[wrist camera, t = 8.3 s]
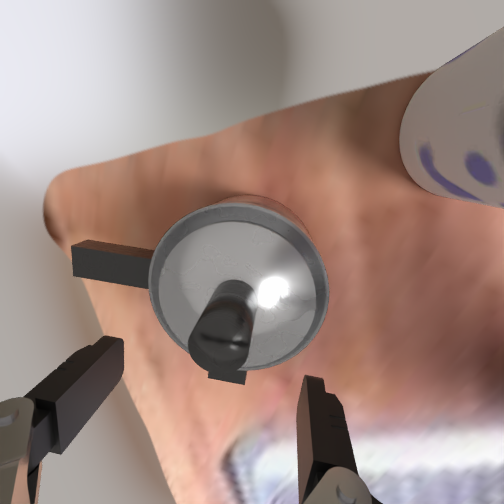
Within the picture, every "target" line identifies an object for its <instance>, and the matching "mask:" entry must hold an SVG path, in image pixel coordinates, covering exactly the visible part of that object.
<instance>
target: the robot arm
mask: <svg viewBox="0 0 504 504" xmlns="http://www.w3.org/2000/svg"><path fill="white" fill-rule="evenodd" d="M123 371H124V341H123V339H121V338H116V337H111V336H103V337H102V338H100V339H99V340H98V341H97V342H96V343H95V344H94V345H93V346H91V345H88V346H86V347H84V348H82V349H80V350H78V351H76V352H75V353H74V354H72V355H71V356H70V357H69V358H68V359H67V360H66V362H63V363H62V364H61V365H60V366H59V367H58V368H57V369H55V370H54V371H53V372H52V373H50V374H49V375H48V376H47V377H46V378H45V379H43V380H42V381H41V382H40V383H39V384H38V385H36V387H34V388H33V389H32V390H31V391H30V392H29V393H27V394H26V395H25V396H24V397H18V398H11V399H8V400H5V401H2V402H0V504H38V497H39V488H40V480H41V471H42V459H43V458H44V457H45V456H46V455H47V453H48V452H52V453H56V454H62V453H63V452H64V450H65V449H66V448H67V447H68V445H69V444H70V443H71V442H72V440H73V439H74V438H75V437H76V435H77V434H78V433H79V432H80V430H81V429H82V428H83V426H84V425H85V424H86V423H87V421H88V420H89V419H90V418H91V416H92V415H93V414H94V413H95V411H96V410H97V409H98V408H99V406H100V405H101V404H102V402H103V401H104V400H105V399H106V398H107V396H108V395H109V394H110V392H111V391H112V390H113V389H114V387H115V386H116V385H117V384H118V382H119V381H120V379H121V377H122V374H123ZM296 422H297V454H298V487H299V504H383V503H381V502H379V501H378V500H377V499H376V498H374V497H373V496H372V495H371V494H370V492H369V490H368V488H367V486H366V484H365V483H364V481H363V480H362V479H361V478H360V477H359V475H358V471H357V467H356V463H355V458H354V454H353V449H352V445H351V441H350V436H349V432H348V427H347V423H346V421H345V414H344V410H343V406H342V404H341V403H340V401H339V400H338V398H337V397H336V395H335V394H330V393H326V391H325V385H324V380H323V378H318V377H313V376H308V375H305V376H304V379H303V383H302V388H301V392H300V397H299V401H298V406H297V417H296Z"/></svg>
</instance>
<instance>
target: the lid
mask: <svg viewBox="0 0 504 504" xmlns="http://www.w3.org/2000/svg"><path fill="white" fill-rule="evenodd" d="M159 300H160V306H161V309H162V312H163V315H164V317H165V319H166V322H167V324H168V325H169V327H170V328H171V330H172V331H173V333H174V334H175V335H176V337H177V338H178V339H179V340H180V341H181V342H182V343H183V344H184V345H185V346H187V347H188V350H189V353H190V355H191V357H192V359H193V360H194V361H195V363H196V364H197V365H199V366H200V367H201V368H203V369H204V370H206V371H209V372H212V373H216V374H227V373H231V372H234V371H236V370H238V369H239V368H241V367H253V366H259V365H264V364H267V363H270V362H273V361H275V360H277V359H279V358H281V357H283V356H285V355H286V354H288V353H289V352H290V351H292V350H293V349H294V348H295V347H296V346H297V345H298V344H299V343H300V342H301V341H302V340H303V338H304V337H305V335H306V334H307V332H308V330H309V328H310V326H311V324H312V321H313V318H314V315H315V309H316V291H315V285H314V281H313V278H312V274H311V271H310V269H309V266H308V264H307V262H306V261H305V259H304V257H303V256H302V254H301V253H300V252H299V250H298V249H297V248H296V247H295V246H294V245H293V244H292V243H291V242H290V241H289V240H288V239H287V238H285V237H284V236H282V235H281V234H280V233H278V232H276V231H275V230H273V229H271V228H269V227H266V226H264V225H261V224H258V223H254V222H250V221H243V220H225V221H219V222H214V223H211V224H208V225H205V226H203V227H201V228H199V229H197V230H195V231H194V232H192V233H190V234H189V235H188V236H186V237H185V238H184V239H182V240H181V241H180V242H179V243H178V244H177V245H176V246H175V247H174V248H173V250H172V251H171V252H170V254H169V255H168V257H167V259H166V260H165V263H164V265H163V267H162V270H161V274H160V279H159Z"/></svg>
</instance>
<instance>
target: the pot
mask: <svg viewBox="0 0 504 504" xmlns="http://www.w3.org/2000/svg"><path fill="white" fill-rule="evenodd" d="M225 220H243V221H250V222H254V223H258V224H261V225H264V226H266V227H269V228H271V229H273V230H275V231H276V232H278V233H280V234H281V235H282V236H284V237H285V238H287V239H288V240H289V241H290V242H291V243H292V244H293V245H294V246H295V247H296V248H297V249H298V250H299V252H300V253H301V254H302V256H303V257H304V259H305V261H306V262H307V264H308V266H309V269H310V271H311V274H312V278H313V281H314V285H315V291H316V309H315V315H314V318H313V321H312V324H311V326H310V328H309V330H308V332H307V334H306V335H305V337H304V338H303V340H302V341H301V342H300V343H299V344H298V345H297V346H296V347H295V348H294V349H293V350H292V351H290V352H289V353H288V354H286V355H285V356H283V357H281V358H279V359H277V360H275V361H273V362H270V363H267V364H264V365H259V366H253V367H241V368H239V369H238V370H236V371H234V372H231V373H227V374H216V373H212V372H209V373H208V378H211V379H216V380H221V381H226V382H232V383H237V384H242V385H245V380H246V375H247V371H249V370H259V369H264V368H269V367H272V366H275V365H278V364H281V363H283V362H285V361H287V360H289V359H291V358H292V357H294V356H295V355H297V354H298V353H299V352H301V351H302V350H303V349H304V348H305V347H306V346H307V345H308V344H309V343H310V342H311V341H312V340H313V338H314V337H315V336H316V334H317V333H318V331H319V329H320V327H321V325H322V323H323V321H324V318H325V315H326V312H327V308H328V302H329V283H328V276H327V273H326V269H325V266H324V263H323V261H322V258H321V256H320V254H319V252H318V250H317V248H316V247H315V245H314V243H313V242H312V240H311V237H310V235H309V233H308V231H307V229H306V227H305V226H304V224H303V223H302V221H301V220H300V219H299V218H298V217H297V216H296V215H295V214H294V213H293V212H292V211H291V210H290V209H288V208H287V207H285V206H284V205H282V204H280V203H278V202H276V201H274V200H271V199H269V198H265V197H261V196H254V195H240V196H234V197H229V198H227V199H224V200H221V201H219V202H217V203H215V204H213V205H209V206H206V207H203V208H200V209H198V210H196V211H194V212H192V213H190V214H188V215H186V216H185V217H183V218H182V219H180V220H179V221H178V222H176V223H175V224H174V225H173V226H172V227H171V228H170V229H169V230H168V231H167V232H166V233H165V235H164V236H163V237H162V239H161V240H160V242H159V244H158V245H157V247H156V249H155V251H154V250H148V249H142V248H136V247H130V246H123V245H117V244H111V243H105V242H99V241H93V240H86V241H83V242H80V243H78V244H75V245H72V246H71V251H72V265H73V276H76V277H81V278H87V279H93V280H99V281H105V282H110V283H116V284H122V285H128V286H134V287H139V288H145V289H149V294H150V299H151V303H152V306H153V309H154V312H155V314H156V316H157V318H158V320H159V322H160V324H161V325H162V327H163V328H164V330H165V331H166V332H167V334H168V335H169V336H170V337H171V338H172V339H173V340H174V341H175V342H176V343H177V344H178V345H179V346H180V347H181V348H182V349H184V350H185V351H186V352H188V353H189V350H188V347H187V346H185V345H184V344H183V343H182V342H181V341H180V340H179V339H178V338H177V337H176V335H175V334H174V333H173V331H172V330H171V328H170V327H169V325H168V324H167V322H166V319H165V317H164V315H163V312H162V309H161V306H160V300H159V279H160V274H161V270H162V267H163V265H164V263H165V260H166V259H167V257H168V255H169V254H170V252H171V251H172V250H173V248H174V247H175V246H176V245H177V244H178V243H179V242H180V241H181V240H182V239H184V238H185V237H186V236H188V235H189V234H190V233H192V232H194V231H195V230H197V229H199V228H201V227H203V226H205V225H208V224H211V223H214V222H219V221H225ZM189 354H190V353H189Z"/></svg>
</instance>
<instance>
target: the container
mask: <svg viewBox="0 0 504 504" xmlns="http://www.w3.org/2000/svg"><path fill="white" fill-rule="evenodd" d="M399 146H400V153H401V158H402V161H403V164H404V166H405V168H406V170H407V172H408V173H409V175H410V176H411V178H412V179H413V180H414V181H415V182H416V183H417V184H418V185H419V186H421V187H422V188H423V189H425V190H427V191H429V192H431V193H433V194H435V195H438V196H442V197H447V198H452V199H457V200H462V201H467V202H473V203H478V204H483V205H488V206H493V207H498V208H503V209H504V27H503V28H501V29H499V30H498V31H497V32H495V33H493V34H492V35H490V36H488V37H487V38H485V39H484V40H482V41H481V42H479V43H477V44H476V45H475V46H473V47H471V48H470V49H468V50H467V51H465V52H464V53H462V54H460V55H458V56H457V57H455V58H454V59H452V60H451V61H449V62H447V63H446V64H444V65H443V66H441V67H440V68H439V69H437V70H436V71H435V72H434V73H432V74H431V75H430V76H429V77H428V78H427V79H426V80H425V81H424V82H423V83H422V85H421V86H420V87H419V88H418V90H417V91H416V92H415V94H414V95H413V97H412V99H411V100H410V102H409V104H408V106H407V108H406V111H405V113H404V116H403V119H402V123H401V128H400V136H399Z"/></svg>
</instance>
